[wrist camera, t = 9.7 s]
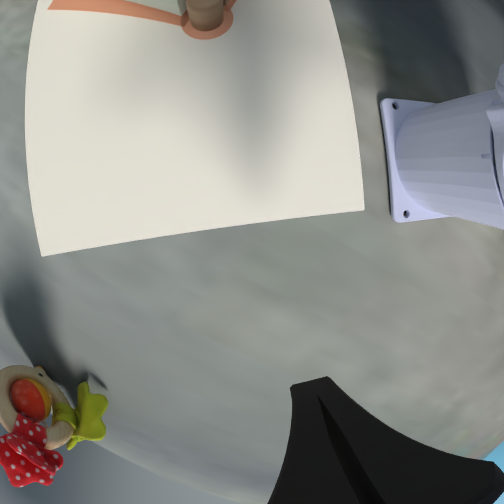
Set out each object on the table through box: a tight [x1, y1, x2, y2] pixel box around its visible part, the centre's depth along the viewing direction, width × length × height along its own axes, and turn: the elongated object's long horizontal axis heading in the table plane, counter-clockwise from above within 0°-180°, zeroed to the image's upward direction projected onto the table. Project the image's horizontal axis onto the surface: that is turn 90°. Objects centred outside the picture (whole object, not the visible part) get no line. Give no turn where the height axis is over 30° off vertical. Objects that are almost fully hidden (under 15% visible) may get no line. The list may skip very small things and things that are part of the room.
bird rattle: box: [0, 365, 108, 487], centre depth 15 cm, size 6×11×9 cm
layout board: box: [25, 0, 364, 257], centre depth 14 cm, size 21×26×1 cm
